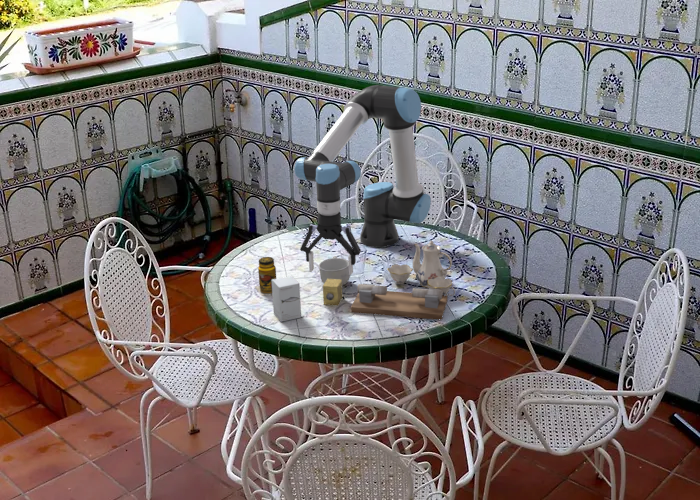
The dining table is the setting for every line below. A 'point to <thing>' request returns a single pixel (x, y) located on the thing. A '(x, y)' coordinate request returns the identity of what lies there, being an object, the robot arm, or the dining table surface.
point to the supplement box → (286, 298)
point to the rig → (399, 302)
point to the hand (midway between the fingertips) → (331, 271)
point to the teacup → (334, 269)
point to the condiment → (266, 275)
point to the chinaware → (425, 269)
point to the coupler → (332, 292)
